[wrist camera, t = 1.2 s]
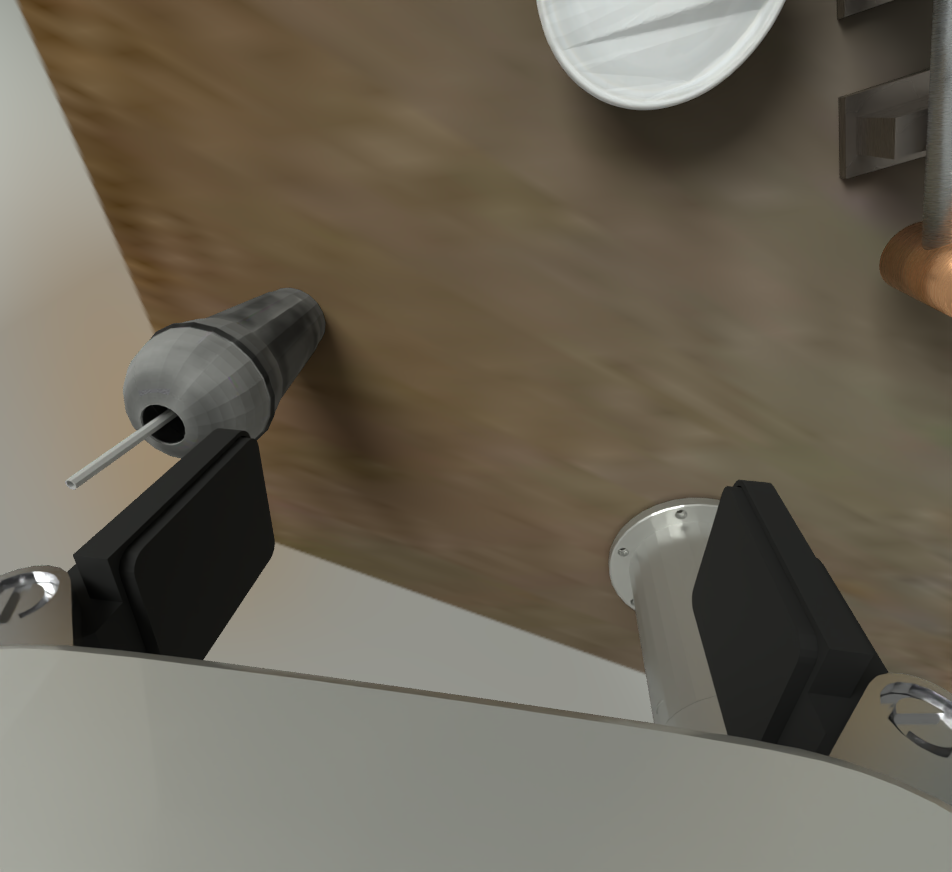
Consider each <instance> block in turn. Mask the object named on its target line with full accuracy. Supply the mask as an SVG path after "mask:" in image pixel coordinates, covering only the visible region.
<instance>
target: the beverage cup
mask: <svg viewBox="0 0 952 872" xmlns="http://www.w3.org/2000/svg"><path fill="white" fill-rule="evenodd" d="M324 332H325V319H324V315H323V312H322V310H321V308H320V307H319V305H318V303H317V302H316V301H315V300H314V299H313V298H312V297H311V296H310V295H308V294H306V293H304V292H303V291H301V290H297V289H293V288H282V289H279V290H277V291H273V292H268V293H266V294H263V295H261V296H259V297H256V298H254V299H251V300H249V301H246V302H244V303H242V304H239V305H237V306H234V307H232V308H230V309H227V310H225V311H222V312H220V313H217V314H215V315H213V316H210V317H208V318H205V319H196V320H191V321H187V322H183V323H174V324H171V325H169V326H167V327H165V328H163V329H161V330H159V331H157V332H156V333H155V334H154V335H153V336H152V338H151V339H150V340H149V341H148V342H147V343H146V344H145V345H144V346H143V347H142V349H141V350H140V351H139V352H138V354H137V355H136V356H135V357H134V359H133V360H132V361H131V363H130V365H129V367H128V370H127V374H126V378H125V382H124V387H123V395H124V401H125V409H126V413H127V415H128V417H129V419H130V421H131V423H132V425H133V427H134V428H135V429H136V430H137V431H136V432H135V433H133V434H132V435H130V436H129V437H127V438H126V439H124V440H123V441H122V442H120V443H119V444H117V445H116V446H115V447H113V448H112V449H110V450H109V451H107V452H106V453H104V454H103V455H101V456H100V457H99V458H97V459H96V460H94V461H93V462H91V463H90V464H89V465H87V466H86V467H84V468H83V469H81V470H80V471H78V472H77V473H76V474H74V475H73V476H71V477H70V478H68V479H67V480H66V481H65V483H66V485H67V486H68V487H69V488H70V489H73V490H75V489H76V488H78V487H79V486H80V485H82V484H83V483H85V482H86V481H87V480H88V479H90V478H91V477H93V476H94V475H96V474H97V473H98V472H100V471H101V470H103V469H104V468H105V467H107V466H108V465H110V464H111V463H112V462H114V461H115V460H116V459H118V458H119V457H121V456H122V455H123V454H125V453H126V452H128V451H129V450H130V449H132V448H133V447H135V446H136V445H137V444H139V443H140V442H141V441H143V440H146V441H147V442H148V443H149V444H151V445H152V446H153V447H154V448H156V449H158V450H160V451H162V452H164V453H166V454H168V455H170V456H173V457H177V458H181V459H182V458H183V457H184V456H185V455H186V454H187V453H189V452H190V451H191V450H192V449H193V448H194V447H195V446H196V445H198V444H199V443H200V442H201V441H202V440H203V439H204V438H206V437H207V436H208V435H209V434H210V433H211V432H212V431H213V430H215V429H217V428H223V429H233V430H243V431H246V432H248V433H249V435H250V437H251V438H254V439H255V440H256V441H257V440H258V439H259V438H260V437H261V436H262V435H263V434H264V433H265V432H266V431H267V430H268V428H269V426H270V424H271V421H272V419H273V417H274V414H275V411H276V409H277V406H278V404H279V402H280V399H281V398H282V397H283V395H284V394H285V392H286V391H287V389H288V388H289V387H290V385H291V384H292V382H293V381H294V380H295V378H296V377H297V375H298V374H299V372H300V371H301V370H302V368H303V367H304V365H305V364H306V363H307V361H308V360H309V358H310V357H311V355H312V354H313V353H314V351H315V350H316V348H317V345H318V343H319V342H320V341H321V339H322V337H323V335H324Z"/></svg>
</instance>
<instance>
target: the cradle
mask: <svg viewBox="0 0 952 872" xmlns="http://www.w3.org/2000/svg"><path fill="white" fill-rule="evenodd" d="M929 83H930V68H929V69H926V70H923V71H920V72H917V73H914V74H911V75H908V76H904V77H901V78H898V79H895V80H892V81H889V82H886V83H883V84H880V85H876V86H873V87H870V88H867V89H864V90H861V91H858V92H855V93H851V94H848V95H845V96H842V97H839V161H840V178H845V179H847V178H851V177H854V176H858V175H861V174H865V173H868V172H872V171H875V170H879V169H882V168H886V167H889V166H893V165H896V164H900V163H903V162H907V161H910V160H914V159H917V158H920V157H924V156H926V143H927V123H928V103H929Z"/></svg>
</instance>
